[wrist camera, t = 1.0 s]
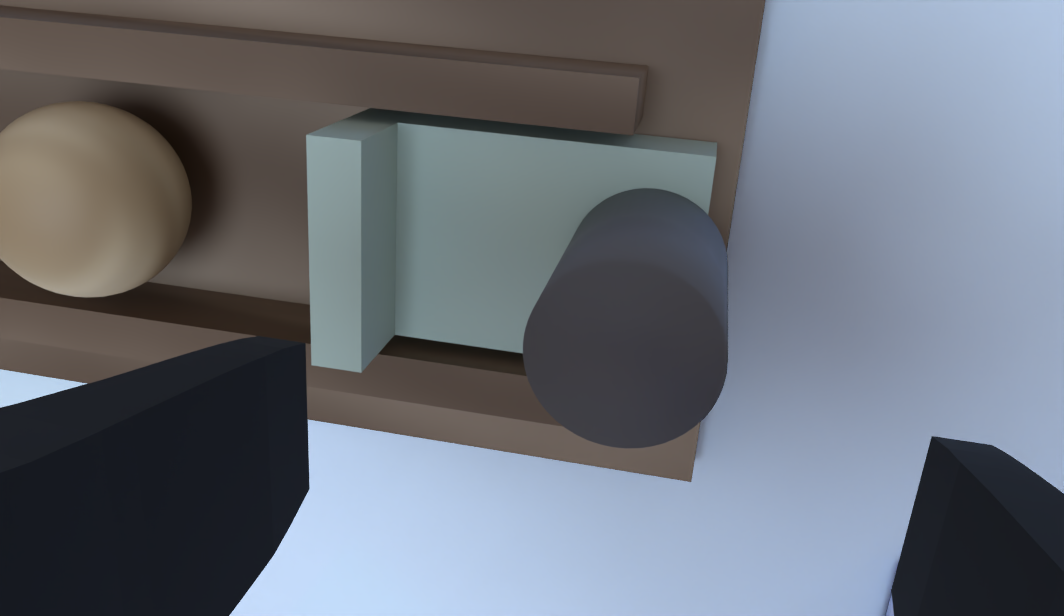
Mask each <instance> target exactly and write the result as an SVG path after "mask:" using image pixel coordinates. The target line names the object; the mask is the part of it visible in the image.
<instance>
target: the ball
mask: <svg viewBox="0 0 1064 616" xmlns="http://www.w3.org/2000/svg"><path fill="white" fill-rule="evenodd" d="M191 212H192V196H191V189H190V184H189V181H188V177H187V174H186V171H185V169H184V166H183V164H182V162H181V160H180V158H179V157H178V155H177V154H176V152H175V151H174V149H173V148H172V146H171V145H170V144H169V143H168V141H167V140H166V139H165V138H164V137H163V136H162V135H161V134H160V133H159V132H158V131H157V130H156V129H154V128H153V127H152V126H151V125H149V124H148V123H146V122H145V121H143V120H142V119H140V118H138V117H137V116H135V115H133V114H131V113H129V112H127V111H125V110H122V109H119V108H116V107H113V106H110V105H106V104H101V103H96V102H86V101H71V102H62V103H54V104H50V105H47V106H43V107H40V108H37V109H34V110H32V111H30V112H28V113H26V114H24V115H23V116H21V117H19V118H17V119H16V120H15V121H13V122H12V123H10V124H9V125H8V126H7V127H6V128H5V129H4V130H3V131H2V132H1V133H0V259H1V260H2V261H3V262H4V263H5V264H6V265H7V266H8V267H10V268H11V269H12V270H13V271H14V272H16V273H17V274H18V275H20V276H21V277H22V278H24V279H26V280H27V281H29V282H31V283H33V284H35V285H37V286H39V287H41V288H44V289H46V290H49V291H52V292H55V293H58V294H63V295H68V296H74V297H105V296H109V295H114V294H119V293H123V292H126V291H128V290H131V289H133V288H136V287H138V286H140V285H142V284H144V283H145V282H147V281H149V280H150V279H152V278H153V277H155V276H156V275H157V274H158V273H160V272H161V271H162V270H163V269H164V268H165V267H166V266H167V265H168V264H169V263H170V261H171V260H172V259H173V258H174V257H175V255H176V254H177V252H178V251H179V249H180V247H181V245H182V244H183V242H184V239H185V237H186V235H187V232H188V228H189V224H190V220H191Z"/></svg>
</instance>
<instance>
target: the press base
mask: <svg viewBox="0 0 1064 616" xmlns="http://www.w3.org/2000/svg"><path fill="white" fill-rule="evenodd" d="M764 6H765V0H0V133H1V132H2V131H3V130H4V129H5V128H6V127H7V126H8V125H9V124H10V123H12V122H13V121H15V120H16V119H17V118H19V117H21V116H23V115H24V114H26V113H28V112H30V111H32V110H34V109H37V108H40V107H43V106H47V105H50V104H54V103H62V102H71V101H86V102H96V103H101V104H106V105H110V106H113V107H116V108H119V109H122V110H125V111H127V112H129V113H131V114H133V115H135V116H137V117H138V118H140V119H142V120H143V121H145V122H146V123H148V124H149V125H151V126H152V127H153V128H154V129H156V130H157V131H158V132H159V133H160V134H161V135H162V136H163V137H164V138H165V139H166V140H167V141H168V143H169V144H170V145H171V146H172V148H173V149H174V151H175V152H176V154H177V155H178V157H179V158H180V160H181V162H182V164H183V166H184V169H185V171H186V174H187V177H188V181H189V184H190V189H191V196H192V212H191V220H190V224H189V228H188V232H187V235H186V237H185V239H184V242H183V244H182V245H181V247H180V249H179V251H178V252H177V254H176V255H175V257H174V258H173V259H172V260H171V261H170V263H169V264H168V265H167V266H166V267H165V268H164V269H163V270H162V271H161V272H160V273H158V274H157V275H156V276H155V277H153V278H152V279H150V280H149V281H147V282H145V283H144V284H142V285H140V286H138V287H136V288H133V289H131V290H128V291H126V292H123V293H119V294H114V295H109V296H105V297H74V296H68V295H63V294H58V293H55V292H52V291H49V290H46V289H44V288H41V287H39V286H37V285H35V284H33V283H31V282H29V281H27V280H26V279H24V278H22V277H21V276H20V275H18V274H17V273H16V272H14V271H13V270H12V269H11V268H10V267H8V266H7V265H6V264H5V263H4V262H3V261H2V260H1V259H0V369H3V370H9V371H15V372H21V373H27V374H33V375H39V376H46V377H52V378H58V379H64V380H70V381H76V382H82V383H88V384H89V383H92V382H96V381H99V380H103V379H106V378H109V377H113V376H116V375H119V374H122V373H126V372H129V371H132V370H135V369H138V368H142V367H145V366H148V365H151V364H154V363H158V362H161V361H164V360H167V359H170V358H174V357H177V356H180V355H183V354H187V353H190V352H193V351H197V350H200V349H203V348H207V347H210V346H214V345H217V344H221V343H225V342H229V341H233V340H238V339H242V338H249V337H255V336H262V337H269V338H275V339H282V340H289V341H295V342H302V343H306V381H307V419H309V420H315V421H321V422H327V423H333V424H340V425H346V426H352V427H358V428H364V429H370V430H376V431H383V432H389V433H395V434H401V435H407V436H413V437H419V438H425V439H432V440H438V441H444V442H450V443H456V444H462V445H468V446H474V447H481V448H487V449H493V450H499V451H505V452H511V453H517V454H523V455H530V456H536V457H542V458H548V459H554V460H560V461H566V462H572V463H579V464H585V465H591V466H597V467H603V468H609V469H615V470H621V471H628V472H634V473H640V474H646V475H652V476H658V477H664V478H670V479H677V480H683V481H689V482H691V479H692V473H693V466H694V460H695V453H696V447H697V440H698V434H699V427H700V422H699V423H698V424H697V425H696V426H695V427H694V428H692V429H691V430H689V431H688V432H687V433H685V434H683V435H681V436H680V437H678V438H676V439H674V440H671V441H668V442H666V443H663V444H659V445H656V446H652V447H645V448H616V447H609V446H605V445H600V444H597V443H594V442H591V441H588V440H586V439H584V438H582V437H580V436H578V435H576V434H574V433H573V432H571V431H569V430H568V429H566V428H565V427H563V426H562V425H561V424H560V423H558V422H557V421H556V420H555V419H554V418H553V417H552V416H551V415H550V414H549V413H548V412H547V411H546V410H545V409H544V407H543V406H542V405H541V403H540V402H539V401H538V399H537V397H536V396H535V394H534V392H533V390H532V388H531V386H530V383H529V381H528V378H527V375H526V371H525V368H524V361H523V353H516V352H509V351H503V350H496V349H489V348H482V347H475V346H468V345H461V344H454V343H448V342H441V341H434V340H427V339H420V338H413V337H406V336H399V335H394V336H393V337H392V338H391V340H390V341H389V342H388V343H387V344H386V345H385V346H384V348H383V349H382V350H381V351H380V352H379V353H378V354H377V355H376V357H375V358H374V359H373V360H372V361H371V362H370V363H369V365H368V366H367V367H366V368H365V369H364V370H363V371H362V372H361V373H360V372H353V371H347V370H340V369H333V368H327V367H320V366H314V365H311V324H310V281H309V237H308V194H307V151H306V135H307V134H310V133H312V132H314V131H317V130H319V129H321V128H324V127H326V126H329V125H331V124H333V123H336V122H338V121H340V120H343V119H345V118H348V117H350V116H352V115H355V114H357V113H359V112H362V111H364V110H367V109H369V108H376V109H386V110H395V111H405V112H414V113H424V114H433V115H443V116H452V117H462V118H471V119H481V120H490V121H500V122H509V123H519V124H528V125H538V126H547V127H557V128H566V129H576V130H585V131H595V132H604V133H614V134H623V135H634V134H640V135H650V136H659V137H669V138H678V139H688V140H698V141H707V142H717V157H716V164H715V171H714V178H713V185H712V192H711V199H710V206H709V213H708V216H709V217H710V218H711V219H712V220H713V222H714V223H715V225H716V226H717V228H718V230H719V232H720V234H721V236H722V238H723V241H724V244H725V248H726V252H727V246H728V239H729V233H730V226H731V220H732V213H733V207H734V200H735V194H736V187H737V181H738V174H739V168H740V161H741V155H742V148H743V142H744V135H745V129H746V123H747V116H748V110H749V103H750V97H751V90H752V84H753V77H754V71H755V64H756V58H757V51H758V45H759V38H760V32H761V25H762V19H763V12H764Z"/></svg>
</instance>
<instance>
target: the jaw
mask: <svg viewBox="0 0 1064 616" xmlns="http://www.w3.org/2000/svg"><path fill="white" fill-rule="evenodd" d="M306 151H307V194H308V237H309V281H310V324H311V365H314V366H320V367H327V368H333V369H340V370H347V371H353V372H360V373H361V372H362V371H363V370H364V369H365V368H366V367H367V366H368V365H369V363H370V362H371V361H372V360H373V359H374V358H375V357H376V355H377V354H378V353H379V352H380V351H381V350H382V349H383V348H384V346H385V345H386V344H387V343H388V342H389V341H390V340H391V338H392V337H393V336H394V335H399V336H406V337H413V338H420V339H427V340H434V341H441V342H448V343H454V344H461V345H468V346H475V347H482V348H489V349H496V350H503V351H509V352H516V353H523V361H524V368H525V371H526V375H527V378H528V381H529V383H530V386H531V388H532V390H533V392H534V394H535V396H536V397H537V399H538V401H539V402H540V403H541V405H542V406H543V407H544V409H545V410H546V411H547V412H548V413H549V414H550V415H551V416H552V417H553V418H554V419H555V420H556V421H557V422H558V423H560V424H561V425H562V426H563V427H565V428H566V429H568V430H569V431H571V432H573V433H574V434H576V435H578V436H580V437H582V438H584V439H586V440H588V441H591V442H594V443H597V444H600V445H605V446H609V447H616V448H645V447H652V446H656V445H659V444H663V443H666V442H668V441H671V440H674V439H676V438H678V437H680V436H681V435H683V434H685V433H687V432H688V431H689V430H691V429H692V428H694V427H695V426H696V425H697V424H698V423H699V422H700V421H701V420H703V419H704V418H705V417H706V415H707V414H708V413H709V412H710V410H711V409H712V408H713V406H714V404H715V403H716V401H717V399H718V398H719V396H720V393H721V391H722V388H723V386H724V382H725V378H726V374H727V363H728V264H727V253H726V248H725V244H724V241H723V238H722V236H721V234H720V232H719V230H718V228H717V226H716V225H715V223H714V222H713V220H712V219H711V218H710V217H709V216H708V213H709V206H710V199H711V192H712V185H713V178H714V171H715V164H716V157H717V142H707V141H698V140H688V139H678V138H669V137H659V136H650V135H640V134H634V135H623V134H614V133H604V132H595V131H585V130H576V129H566V128H557V127H547V126H538V125H528V124H519V123H509V122H500V121H490V120H481V119H471V118H462V117H452V116H443V115H433V114H424V113H414V112H405V111H395V110H386V109H376V108H369V109H367V110H364V111H362V112H359V113H357V114H355V115H352V116H350V117H348V118H345V119H343V120H340V121H338V122H336V123H333V124H331V125H329V126H326V127H324V128H321V129H319V130H317V131H314V132H312V133H310V134H307V135H306Z"/></svg>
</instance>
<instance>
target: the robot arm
mask: <svg viewBox="0 0 1064 616" xmlns="http://www.w3.org/2000/svg"><path fill="white" fill-rule="evenodd" d="M308 490H309V458H308V420H307V381H306V343H302V342H295V341H289V340H282V339H275V338H269V337H262V336H255V337H249V338H242V339H238V340H233V341H229V342H225V343H221V344H217V345H214V346H210V347H207V348H203V349H200V350H197V351H193V352H190V353H187V354H183V355H180V356H177V357H174V358H170V359H167V360H164V361H161V362H158V363H154V364H151V365H148V366H145V367H142V368H138V369H135V370H132V371H129V372H126V373H122V374H119V375H116V376H113V377H109V378H106V379H103V380H99V381H96V382H92V383H89V384H85V385H82V386H78V387H75V388H71V389H67V390H64V391H60V392H57V393H53V394H50V395H46V396H43V397H39V398H35V399H32V400H28V401H25V402H21V403H18V404H14V405H10V406H6V407H2V408H0V616H229V615H230V614H231V612H232V611H233V610H234V608H235V607H236V606H237V604H238V603H239V602H240V600H241V599H242V598H243V596H244V595H245V594H246V592H247V591H248V590H249V588H250V587H251V586H252V584H253V583H254V581H255V580H256V579H257V577H258V576H259V575H260V573H261V572H262V571H263V569H264V568H265V566H266V565H267V564H268V562H269V561H270V559H271V558H272V557H273V555H274V554H275V552H276V550H277V548H278V547H279V545H280V543H281V541H282V539H283V538H284V536H285V534H286V532H287V531H288V529H289V527H290V525H291V523H292V521H293V519H294V518H295V516H296V514H297V512H298V510H299V508H300V506H301V504H302V502H303V500H304V498H305V496H306V494H307V492H308ZM891 593H892V594H891V598H890V601H889V605H888V609H887V613H886V616H1064V494H1063V493H1062V492H1061V491H1059V490H1058V489H1057V488H1055V487H1054V486H1052V485H1051V484H1050V483H1048V482H1047V481H1046V480H1044V479H1043V478H1042V477H1040V476H1039V475H1037V474H1036V473H1035V472H1033V471H1032V470H1030V469H1029V468H1028V467H1026V466H1025V465H1023V464H1022V463H1020V462H1019V461H1017V460H1016V459H1014V458H1013V457H1011V456H1010V455H1008V454H1007V453H1005V452H1003V451H1001V450H1000V449H998V448H996V447H994V446H992V445H987V444H980V443H974V442H967V441H960V440H954V439H947V438H940V437H933V436H932V438H931V441H930V445H929V449H928V453H927V457H926V460H925V464H924V468H923V472H922V476H921V479H920V483H919V487H918V491H917V495H916V499H915V502H914V506H913V510H912V514H911V518H910V521H909V525H908V529H907V533H906V537H905V540H904V544H903V548H902V552H901V556H900V560H899V563H898V567H897V571H896V575H895V579H894V582H893V586H892V590H891Z"/></svg>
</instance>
